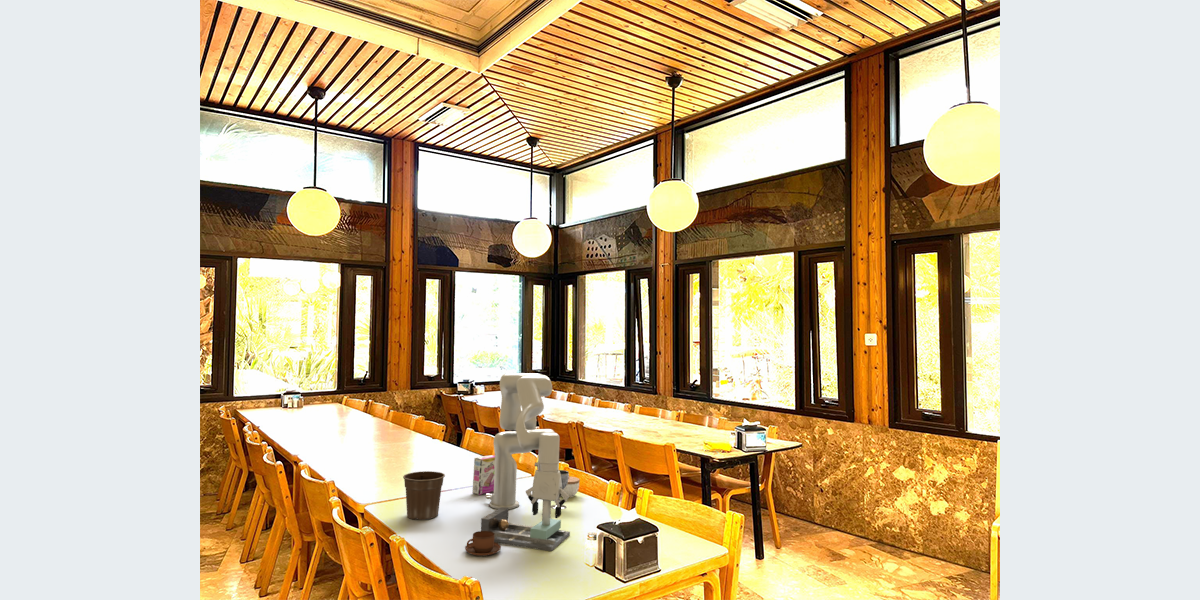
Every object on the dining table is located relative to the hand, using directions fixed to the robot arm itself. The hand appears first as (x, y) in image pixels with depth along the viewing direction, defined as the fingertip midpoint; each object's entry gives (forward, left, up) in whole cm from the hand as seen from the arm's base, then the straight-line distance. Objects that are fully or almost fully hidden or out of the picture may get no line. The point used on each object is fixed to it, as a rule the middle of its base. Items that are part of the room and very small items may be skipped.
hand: (546, 515), depth 225 cm
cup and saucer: (-15, -19, -9) cm, 26 cm away
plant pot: (-57, +8, -9) cm, 58 cm away
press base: (-8, 0, -9) cm, 12 cm away
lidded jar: (-15, +62, -9) cm, 64 cm away
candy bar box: (-52, +51, -9) cm, 73 cm away
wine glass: (-12, +43, -9) cm, 46 cm away
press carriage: (0, 0, -6) cm, 6 cm away
